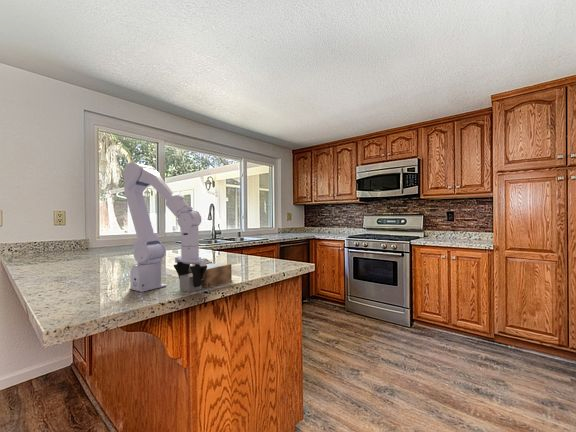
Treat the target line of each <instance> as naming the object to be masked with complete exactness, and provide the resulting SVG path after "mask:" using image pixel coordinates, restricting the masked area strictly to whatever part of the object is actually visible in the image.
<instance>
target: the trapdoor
mask: <svg viewBox="0 0 576 432" xmlns="http://www.w3.org/2000/svg"><path fill="white" fill-rule="evenodd" d="M206 265H207V268H212V267H217V266H222V265H223V264H218V263H213V262H212V263H210V264H206ZM191 267H192V266H191ZM189 272H192V271H191V269H190V267H189Z"/></svg>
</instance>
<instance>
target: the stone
mask: <svg viewBox="0 0 576 432" xmlns="http://www.w3.org/2000/svg"><path fill="white" fill-rule="evenodd" d="M198 290H202V286H199V287H194V282H193V274H192V273H190V274H185V275H180V280H179V291H183V292H188V293H190V292H194V291H198Z"/></svg>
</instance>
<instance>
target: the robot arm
mask: <svg viewBox="0 0 576 432" xmlns="http://www.w3.org/2000/svg"><path fill="white" fill-rule="evenodd" d="M122 176H123V179H124V185H123V186H124V187H123V188H124V189H123V190H124V194H125V198H126V202H127V206H128V209H129V213H130V216H131V220H132V223H133V227H134V231H135V234H136V237H137V238H136V239H135V241H133V243H132V244H133V258H134V259H135V261H136V262H137V264H134V265H132V266H131V268H130V271H129V273H130V274H129V275H130V277H129V278H130V287H129V289H130V290H133V291H137V292H140V293H142V292H146V291H150V290H155V289H160V288H164V287H168V286H167V284H165V283H162V261H163V257H164V256H165V255H166V247H165V245H164V244H163V243H162V241H161V239H160V237H159V236H157V235H156V234H155V232H154V228H153V226H152V221H151V218H150V214H149V211H148V208H147V205H146V201H145V197H144V194H143V193H144V191H146V190H147V188H148V187H150V186H152V188H153V189H154V190H156V191H157V192H158V194H159V195H160V196H162V198H163V199H164V200H165V206H166V207H167V208H168V209H169V211H170V212H171V213H172V214H173V215H174V216H175V218H177V219H176V222H177V224H178V226H179V228H180V243H181V244H180V248H181V249H180V252H181V253H180V254H181V256H174V263H176V264H173V267H174V268H173V269H174V270H175V271H176V274H177V275H178V279H179V281H180V275H185V274H188V270H189V266H190V265H195V266H192V267H190V269H191V271H192V274H193V282H194V287H199V286H201V282H202V281H203V280H202V278H203V275H204V272H205V270H206V269H207V265H206V260H204V259H205V258H202V257H201V256H200V255H199V254H200V252H199V250H200V248H199V246H200V241H199V239H200V238H199V235H200V234H199V226H200V225H201V224H202V216H201V214H200V212H199V211H197V210H193V207H192V206H190V205H189V204H188V203H187V202H186V201H185V200H184V199H185V197H184V196H183V195H180V194H178V193H177V194H176V193H175V194H174V192H173V191H172V189H171V188H170V187H169V186H168V184H167V183H166V182H165V180H164V179H163V178H162V176H161V175H160V172H159V171H157V170H156V168H155V167H154V166H151V165H146V164H142V163H137V162H135V161H131V162H129V163H127V164H126V165H125V167H124V168H123V170H122ZM201 287H202V286H201Z"/></svg>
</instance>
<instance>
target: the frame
mask: <svg viewBox="0 0 576 432" xmlns="http://www.w3.org/2000/svg"><path fill="white" fill-rule="evenodd" d="M210 263H213V261H210V262H206V264H210ZM221 265H222V266H217V267H212V268H207V269H206V270H205V272H204V275H203V278H202V282H201V287H204V288H210V287H215V286H218V285H222V284H225V283H228V282H232V272H233V271H232V264H231V263H228V264H221ZM191 266H195V265H192V264H190V266H189V267H191ZM190 273H192V272H189V270H188V274H190Z"/></svg>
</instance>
